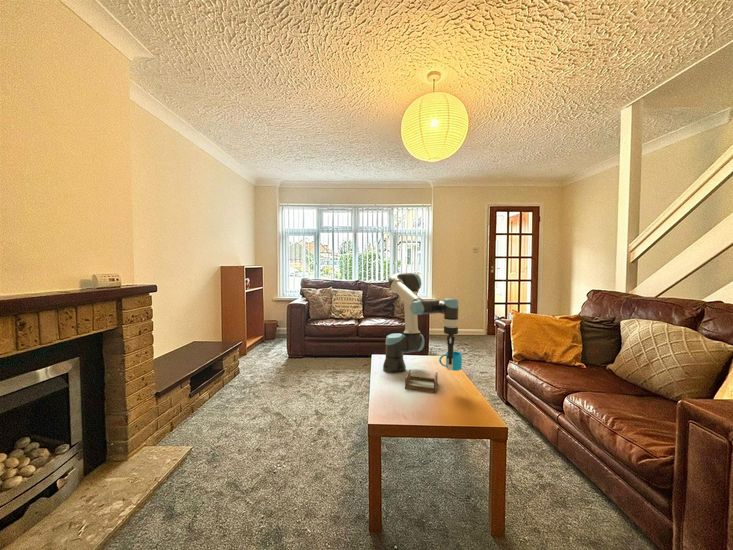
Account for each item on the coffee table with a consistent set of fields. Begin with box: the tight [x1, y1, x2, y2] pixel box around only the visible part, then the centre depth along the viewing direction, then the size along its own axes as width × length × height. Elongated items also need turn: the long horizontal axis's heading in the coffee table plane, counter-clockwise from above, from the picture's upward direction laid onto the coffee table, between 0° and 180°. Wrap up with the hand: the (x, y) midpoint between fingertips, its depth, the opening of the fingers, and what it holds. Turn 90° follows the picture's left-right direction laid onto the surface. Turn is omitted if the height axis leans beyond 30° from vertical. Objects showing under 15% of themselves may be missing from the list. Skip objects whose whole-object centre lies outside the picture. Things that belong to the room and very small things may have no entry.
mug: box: [438, 350, 463, 372], centre depth 164 cm, size 12×8×8 cm
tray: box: [404, 369, 438, 393], centre depth 171 cm, size 15×17×6 cm
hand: (450, 367), depth 165 cm, fingers closed on mug, 8 cm apart
